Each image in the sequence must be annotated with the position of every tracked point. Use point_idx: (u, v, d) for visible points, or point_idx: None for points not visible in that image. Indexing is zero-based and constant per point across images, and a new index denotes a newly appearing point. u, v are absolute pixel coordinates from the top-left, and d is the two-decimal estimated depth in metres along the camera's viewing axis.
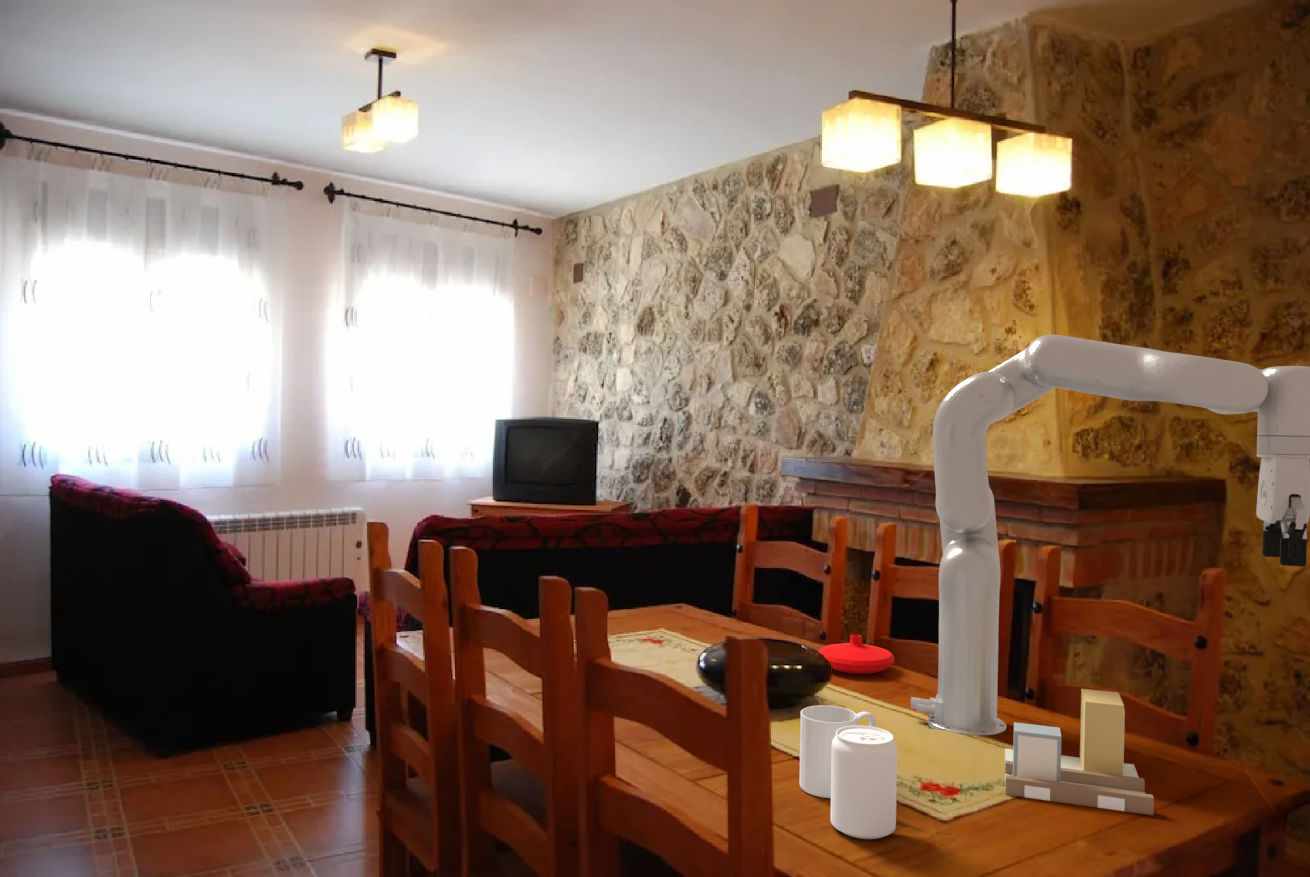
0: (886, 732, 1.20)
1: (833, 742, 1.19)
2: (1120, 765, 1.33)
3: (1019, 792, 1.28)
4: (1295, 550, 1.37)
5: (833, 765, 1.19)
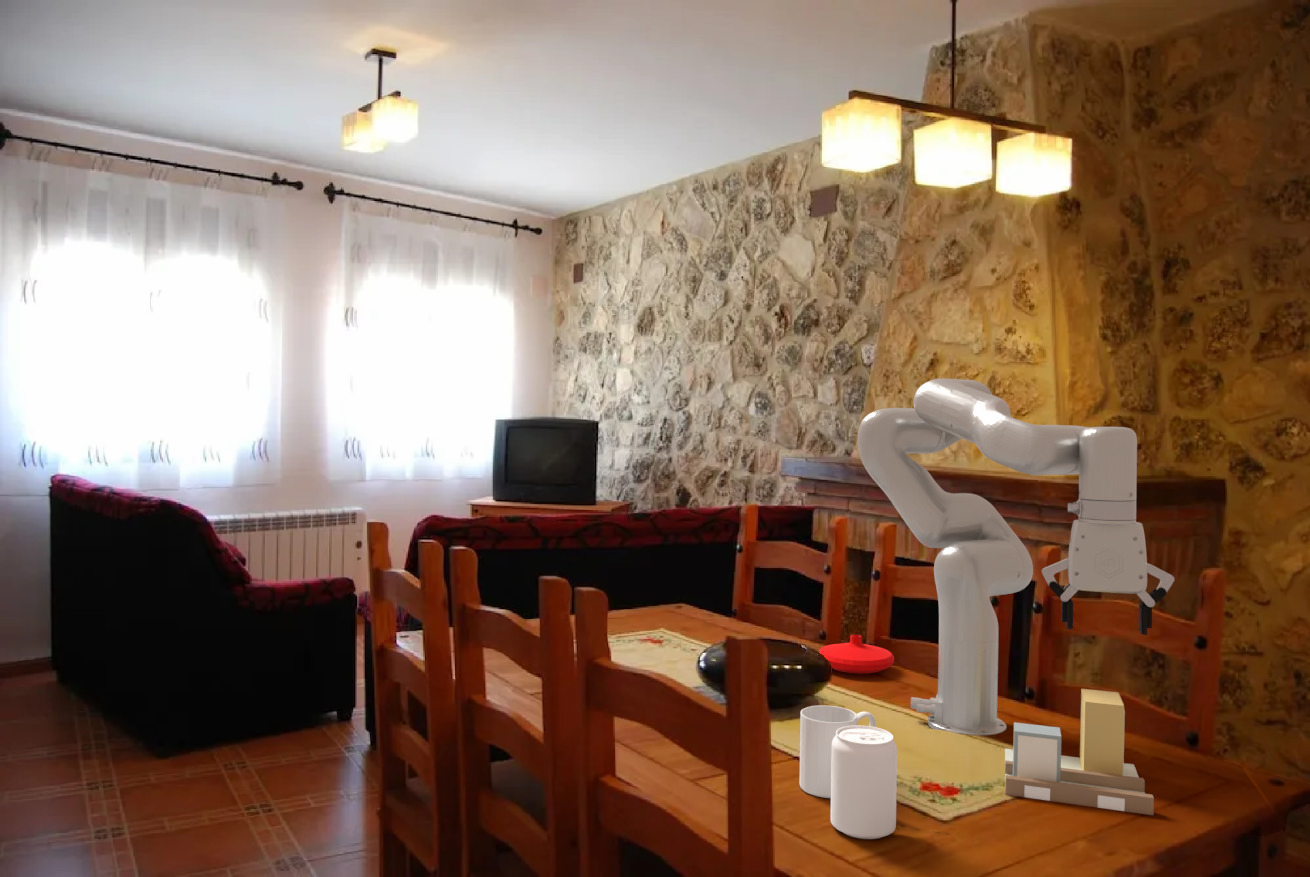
0: (886, 732, 1.20)
1: (833, 742, 1.19)
2: (1120, 765, 1.33)
3: (1019, 792, 1.28)
4: None
5: (833, 765, 1.19)
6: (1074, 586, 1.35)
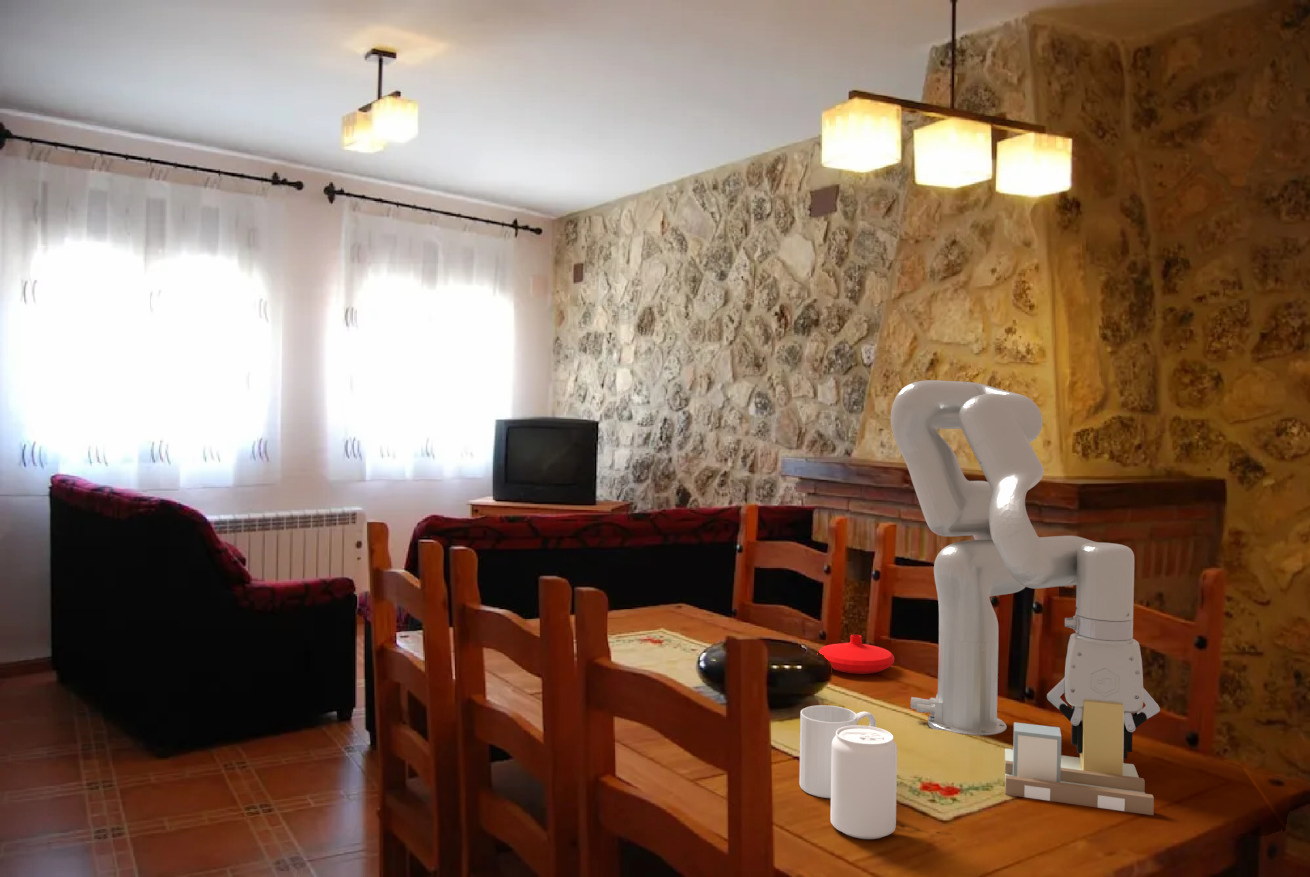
0: (886, 732, 1.20)
1: (833, 742, 1.19)
2: (1120, 765, 1.33)
3: (1019, 792, 1.28)
4: None
5: (833, 765, 1.19)
6: (1070, 703, 1.36)
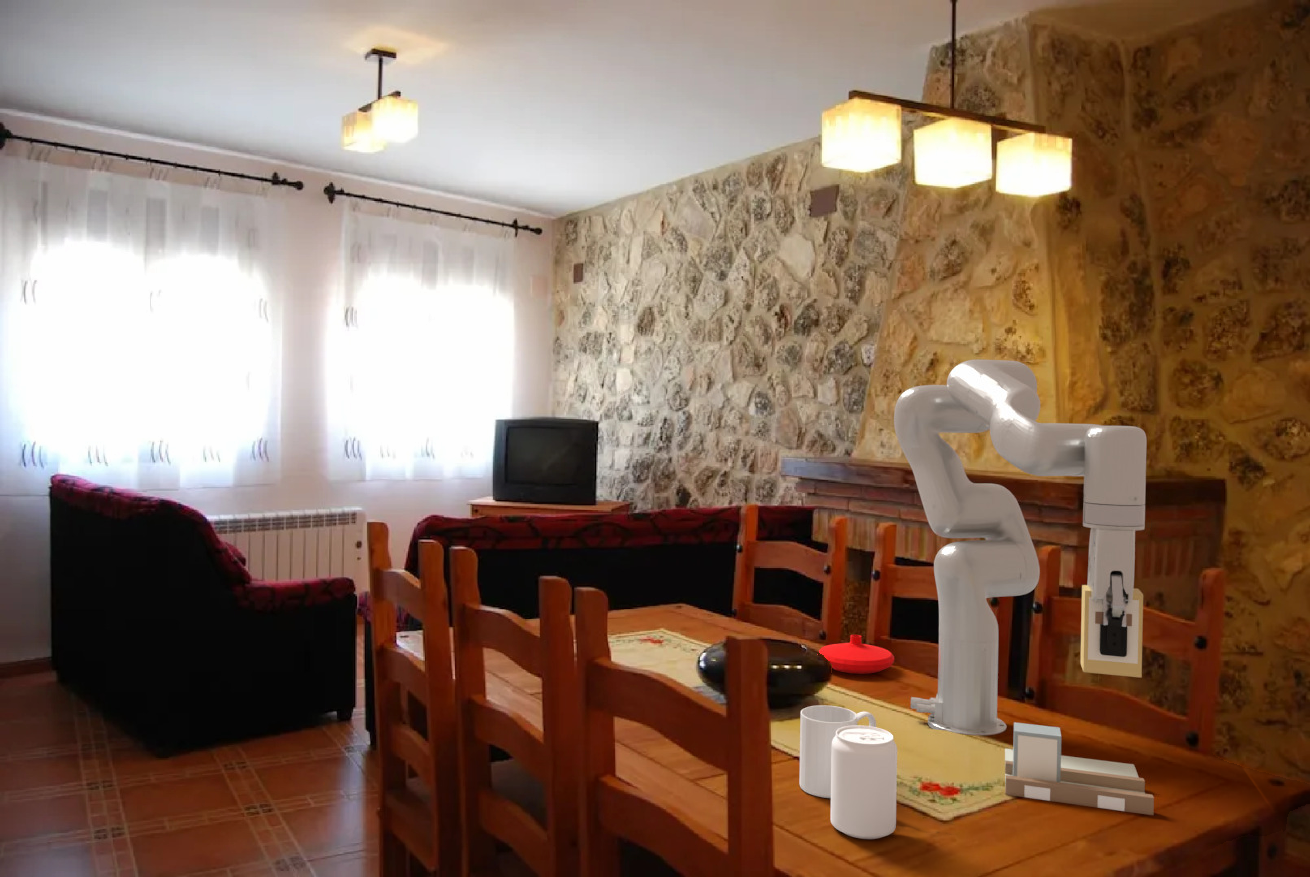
0: (886, 732, 1.20)
1: (833, 742, 1.19)
2: (1083, 653, 1.27)
3: (1019, 792, 1.28)
4: (1114, 639, 1.24)
5: (833, 765, 1.19)
6: None
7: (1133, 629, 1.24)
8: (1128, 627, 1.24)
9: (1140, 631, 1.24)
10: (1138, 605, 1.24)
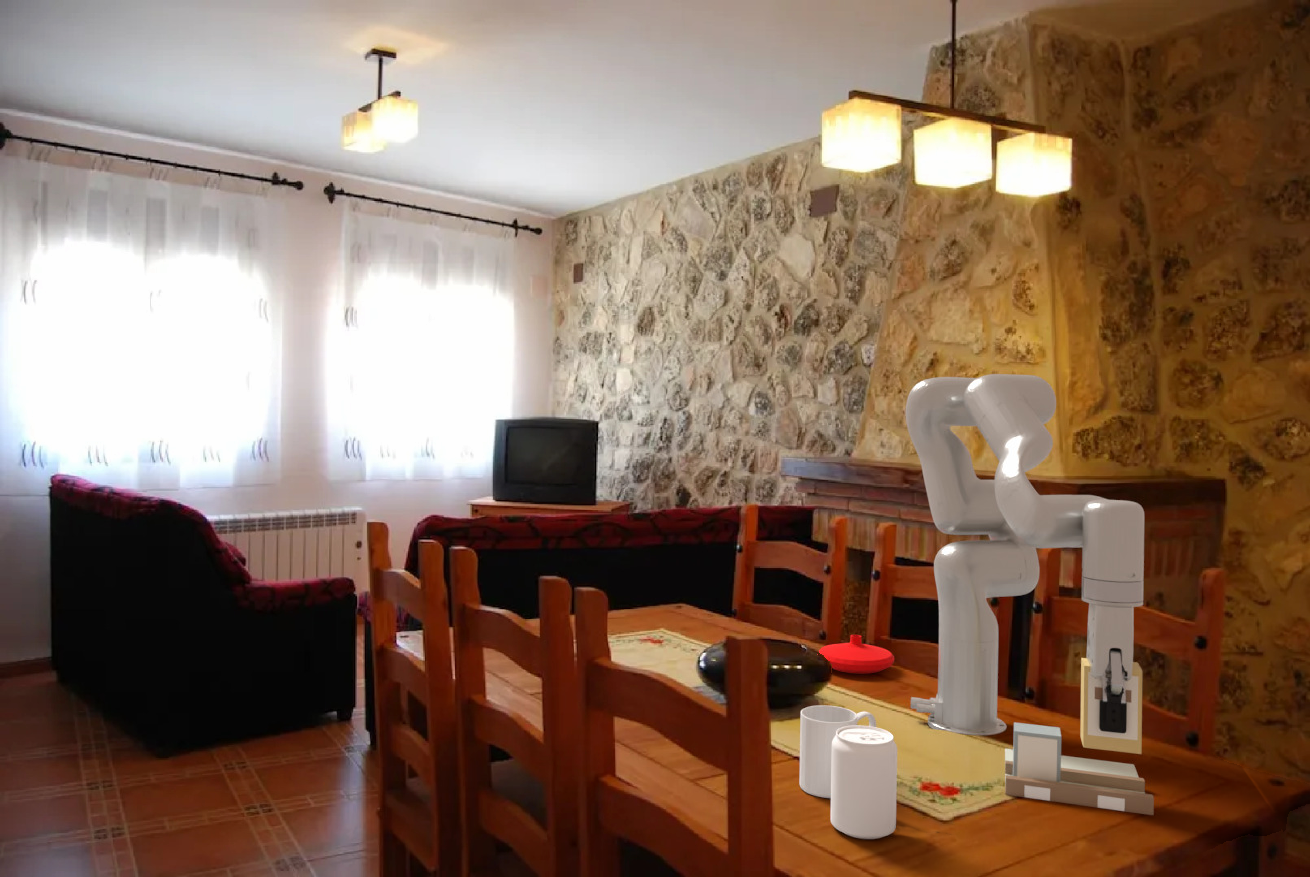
0: (886, 732, 1.20)
1: (833, 742, 1.19)
2: (1083, 728, 1.27)
3: (1019, 792, 1.28)
4: (1114, 716, 1.24)
5: (833, 765, 1.19)
6: None
7: (1133, 705, 1.24)
8: (1127, 703, 1.24)
9: (1140, 707, 1.24)
10: (1138, 681, 1.24)
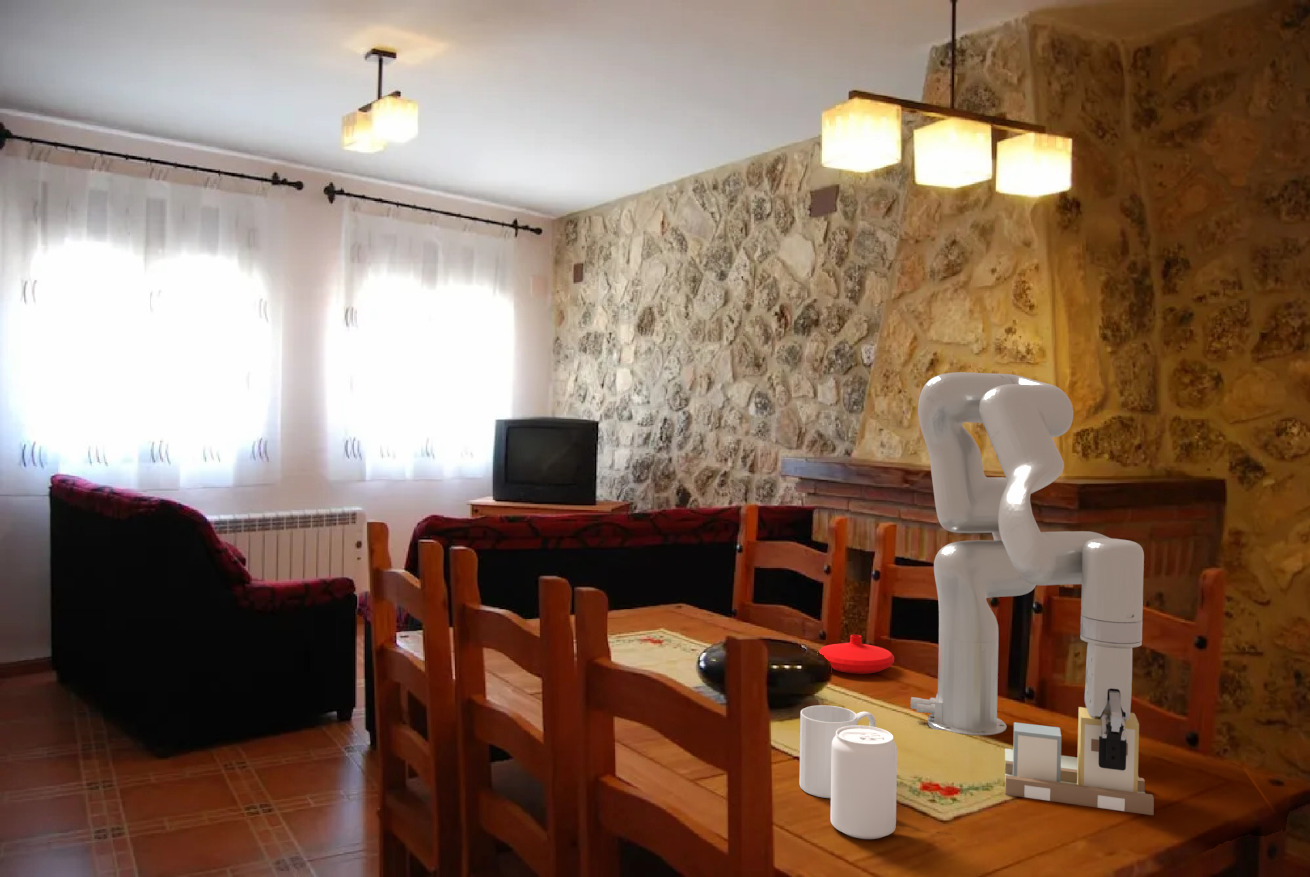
0: (886, 732, 1.20)
1: (833, 742, 1.19)
2: (1079, 779, 1.27)
3: (1019, 792, 1.28)
4: (1113, 753, 1.22)
5: (833, 765, 1.19)
6: None
7: (1129, 758, 1.25)
8: None
9: (1136, 760, 1.25)
10: (1134, 734, 1.25)
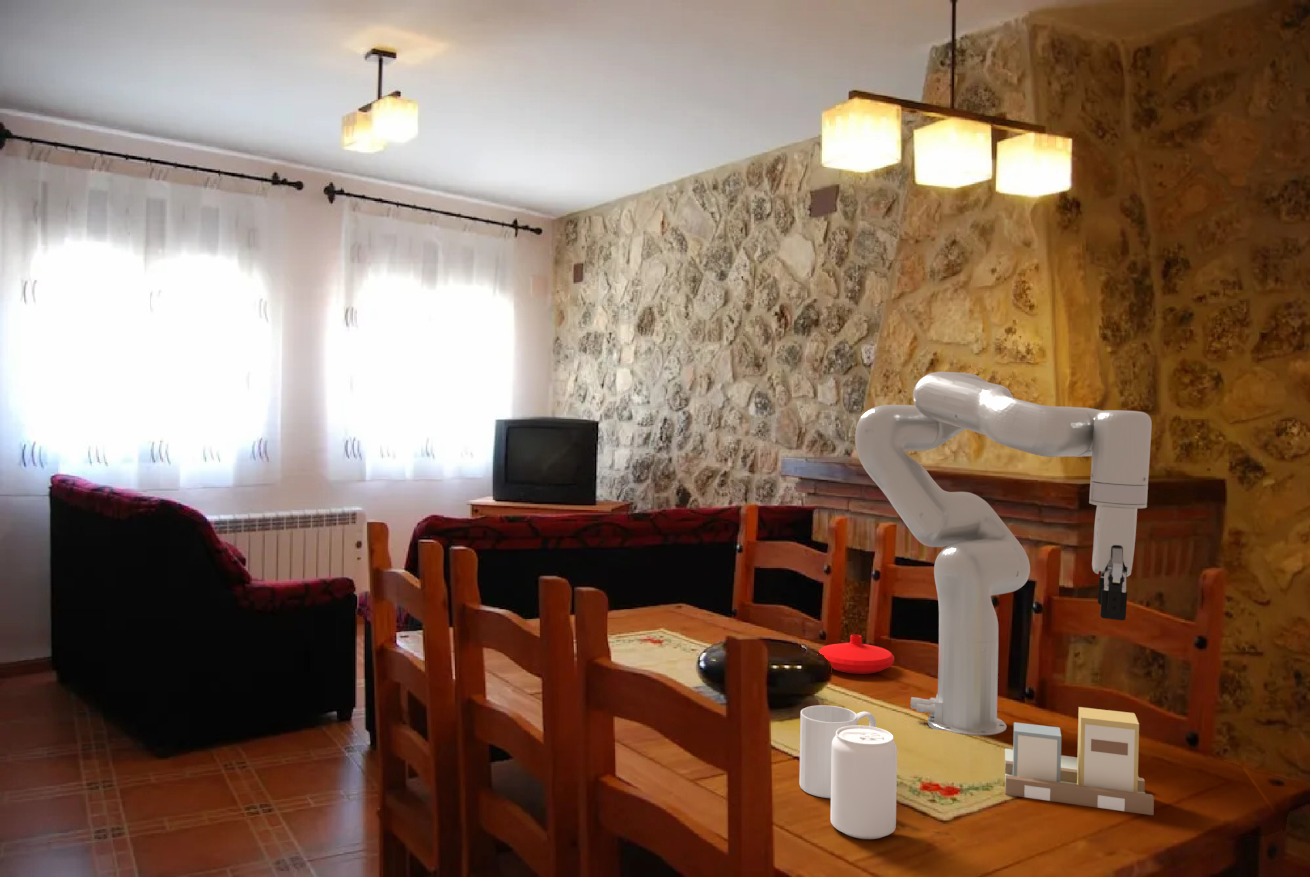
0: (886, 732, 1.20)
1: (833, 742, 1.19)
2: (1079, 779, 1.27)
3: (1019, 792, 1.28)
4: (1114, 603, 1.32)
5: (833, 765, 1.19)
6: None
7: (1129, 758, 1.25)
8: (1124, 756, 1.25)
9: (1136, 760, 1.25)
10: (1134, 734, 1.25)
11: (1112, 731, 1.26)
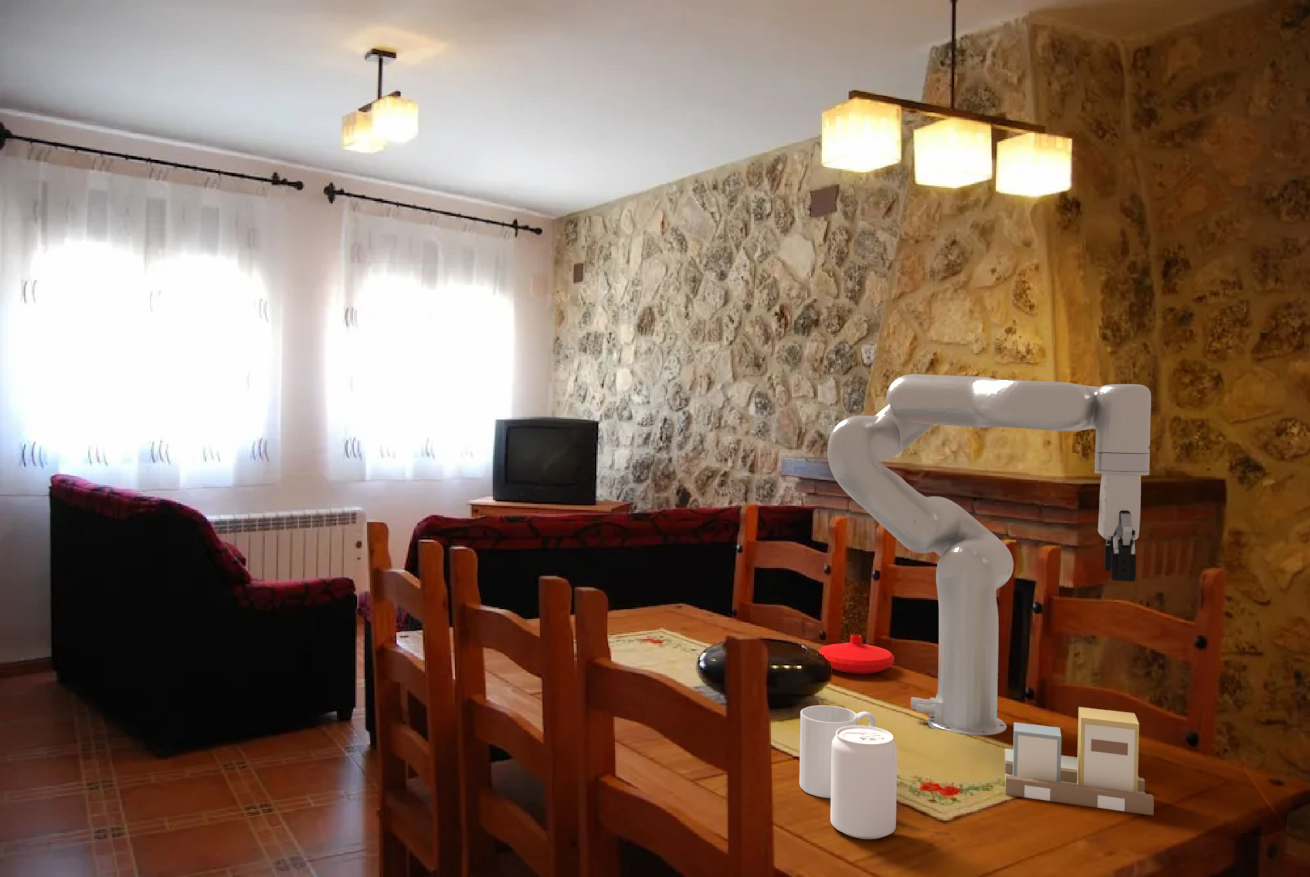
0: (886, 732, 1.20)
1: (833, 742, 1.19)
2: (1079, 779, 1.27)
3: (1019, 792, 1.28)
4: (1124, 565, 1.39)
5: (833, 765, 1.19)
6: None
7: (1129, 758, 1.25)
8: (1124, 756, 1.25)
9: (1136, 760, 1.25)
10: (1134, 734, 1.25)
11: (1112, 731, 1.26)
